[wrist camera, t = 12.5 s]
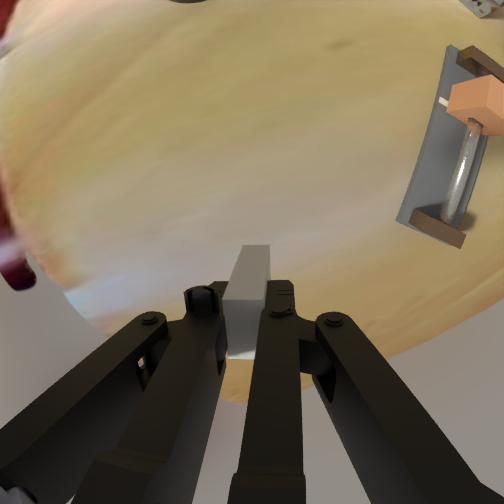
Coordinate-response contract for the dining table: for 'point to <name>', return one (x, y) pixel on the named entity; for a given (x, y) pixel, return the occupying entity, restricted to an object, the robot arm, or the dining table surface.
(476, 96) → the block
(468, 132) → the pipe rig
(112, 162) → the dining table surface
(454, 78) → the base board
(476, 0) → the coffee box
